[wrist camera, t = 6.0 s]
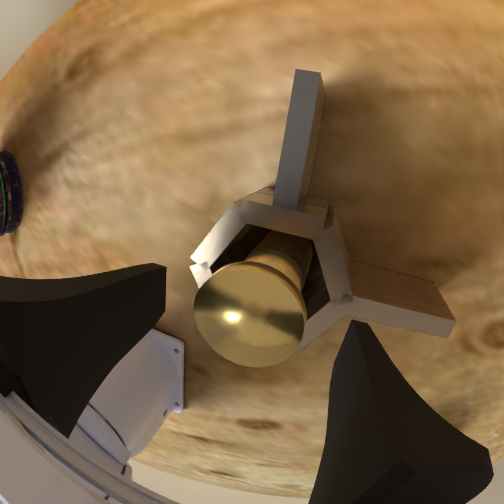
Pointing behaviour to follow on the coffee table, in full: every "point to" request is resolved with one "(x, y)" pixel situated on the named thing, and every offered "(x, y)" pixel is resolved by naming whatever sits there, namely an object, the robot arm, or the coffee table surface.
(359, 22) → the coffee table surface
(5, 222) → the storage jar
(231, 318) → the hinge pin
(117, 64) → the coffee table surface
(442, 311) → the hinge
